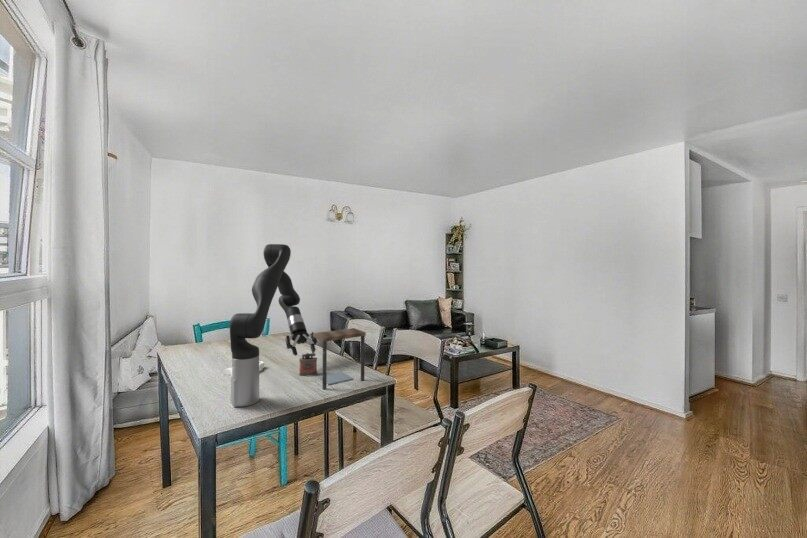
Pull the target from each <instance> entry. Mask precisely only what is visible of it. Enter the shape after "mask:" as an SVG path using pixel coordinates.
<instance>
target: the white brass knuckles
mask: <svg viewBox="0 0 807 538" xmlns="http://www.w3.org/2000/svg"><path fill="white" fill-rule="evenodd" d="M263 368H264V369H265V362H264V361H261V360H259V371H260V372H261V371H262V370H264V369H263ZM222 371H223V372H222V373H223V374H224V375H225V374H226V375H225V376H230V378H231V377H232V366H231V367H229V368H228V367H227V368H225V369H223V370H222Z"/></svg>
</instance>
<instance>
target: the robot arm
mask: <svg viewBox="0 0 807 538" xmlns="http://www.w3.org/2000/svg"><path fill="white" fill-rule="evenodd" d="M291 251H292V250H291V247H290V246H289V245H288V244H281V243H276V244H275V243H271V244H270V243H269V244H266V245H265V246H264V248H263V259H264V261H265V264H266V265H267V268H266V269H264V270H262V271H261V272H260V273H258V274H257V276H256V278H255V280H254V282H253V285H252V288H251V294H252V296H253V299H254V301H255V303H256V306H257V307H256V310H255V312H252V313H250V312H249V313H248V312H247V313H244V312H243V313H241V312H240V313H235V314H233V315H232V317H231V319H230V322H229V339H230V352H231V365H232V366H231V367H232V377H231V376H230V402H231V404H232V406H233V408H237V407H241V408H242V407H247V406H248V407H249V406H251V405H255V404H257V403H258V402H260V372H259V361H260V348H259V347H258V346H257V345H254V344H252V343H250V342H249V341H247V339H257V338H259V337H260V336H262V333H263V332H264V329H265V325H266V322H267V317H268V314H269V311H270V307H271V305H272V301H273V300H274V297H275V295H276V292H277V290H278V292H279V294H280V296H279V298H278V304H279V306H280V307H281V309H282V310H283V311H284V313H285V316H286V319H287V325H288V328H289V332H290V335H291V336H289V334H288V335H287V334H286V336H285V345H286V348H287V349H291V351H292V354H293V356H294V357H296V356H297V355H298V350H297V347H296V345H300V344H306V345H309V346H310V351H311V353H315V352H316V345H317V343H318V339H316V338H314V337H313V333H314V332H313V331H312V332H311V333H308V331H307V327H306V325H305V322H304V318H303V317H302V313H301V310H300V308H299V307H298V305H299V304H300V301H301V298H300V295H299V294H298V293H297V291H296V290H295V288H294V285H293V282H292V278H291V276H290V275H289V274H288V273H287V272H286V271H285V270H286V267H287V265H288V264H289V261H290V259H291V254H292V252H291ZM291 340H292V341H293V343H292V344H291Z"/></svg>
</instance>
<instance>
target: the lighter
mask: <svg viewBox="0 0 807 538" xmlns="http://www.w3.org/2000/svg"><path fill="white" fill-rule="evenodd" d="M316 356H317V355H316V353H315V352H314V353H312V352H310V353H309V352H306V353H302V354H301V358H299V359H298V360H299V361H298V362H299V369H298V370H299V371H298V372H299V373H298V376H299V375H300V376H299V377H307V376H306V375H310V376H316V375H318V370H317V369H318V365H317V361H318V357H316ZM315 374H316V375H315Z"/></svg>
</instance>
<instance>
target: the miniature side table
mask: <svg viewBox="0 0 807 538" xmlns="http://www.w3.org/2000/svg"><path fill="white" fill-rule="evenodd" d="M366 333H367V332H366V331H362V330H360V329H357V328H354V327H353V328H346V329H345V328H343V329H338V330H336V329H335V330H329V331H328V330H327V331H323V332H321V331H320V332H313V337H314V338H316V339H317V341H320V342H322V375H323V381H322V390H323V389H326V390H327V384H326V381H327V374H328V373H327V367H328V366H327V362H328V361H327V355H328V354H327V350H328V349H327V347H328V346H327V344H328V343H327V342H331V341H339V340H346V339H353V338H358V337H360V382H364V381H365V351H366V350H365V345H366V344H365V341H366V340H365V337H366V335H367V334H366Z"/></svg>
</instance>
